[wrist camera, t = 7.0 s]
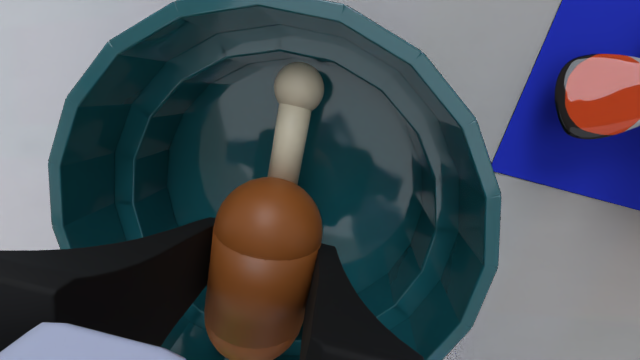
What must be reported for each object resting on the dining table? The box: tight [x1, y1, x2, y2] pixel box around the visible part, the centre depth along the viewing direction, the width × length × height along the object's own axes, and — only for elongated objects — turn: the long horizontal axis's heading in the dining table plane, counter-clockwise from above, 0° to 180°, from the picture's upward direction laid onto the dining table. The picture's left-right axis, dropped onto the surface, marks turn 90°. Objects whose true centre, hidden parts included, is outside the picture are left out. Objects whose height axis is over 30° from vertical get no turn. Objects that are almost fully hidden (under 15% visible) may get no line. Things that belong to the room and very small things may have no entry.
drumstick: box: [204, 62, 324, 360], centre depth 12 cm, size 12×4×4 cm, turn 169°
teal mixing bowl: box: [48, 0, 501, 360], centre depth 13 cm, size 15×15×6 cm
